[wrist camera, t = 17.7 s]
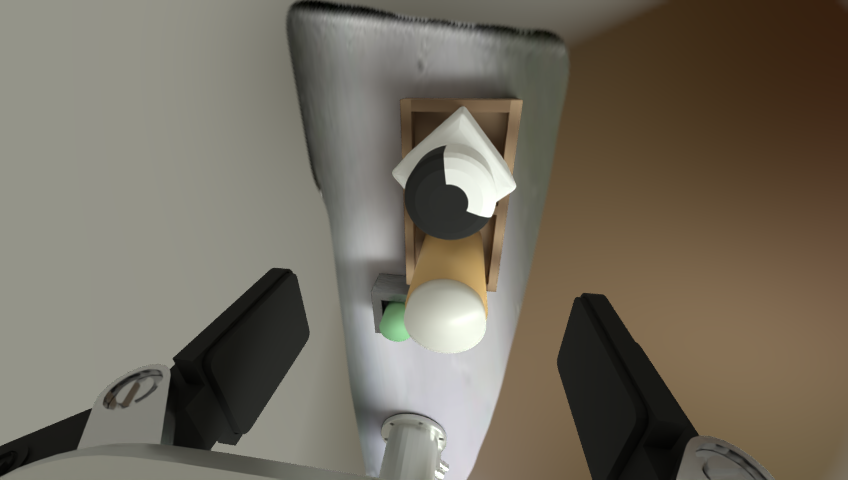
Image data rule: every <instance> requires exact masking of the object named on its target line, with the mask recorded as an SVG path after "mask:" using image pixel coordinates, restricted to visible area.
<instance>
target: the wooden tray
mask: <svg viewBox="0 0 848 480" xmlns="http://www.w3.org/2000/svg"><path fill="white" fill-rule="evenodd" d="M522 103H523V100H520V99H476V98H405V99H401V100H400V110H401V139H402V160H403V159H404V158H405V156H406V155H407V154H408V153H409V152H410V151H411V150H412V149H414V148H415V147H416V146H417V145H418V144H419V143H420V142H422V141H423V140H424V139H425V138H426V137H427V136H428V135H429V134H431V133H432V132H433V131H434V130H435V129H436V128H437V127H438V126H440V125H441V124H442V123H443V122H444V121H445V120H446V119H448V118H449V117H450V116H451V115H452V114H453V113H454V112H455V111H457V110H458V109H459V108H460V107H462V106H464V107H466V108H467V110H468V111H469V112H470V114H471V115H472V117H473V118H474V119H475V121H476V122H477V123H478V125H479V126H480V128H481V129H482V130H483V132H484V133H485V134H486V136H487V137H488V138H489V140H490V141H491V143H492V144H493V145H494V147H495V148H496V149H497V151H498V152H499V154H500V155H501V156H502V158H503V159H504V160H505V162H506V163H507V165H508V168H509V170H510V172H511V174H513V167H514V160H515V153H516V145H517V138H518V131H519V124H520V117H521V110H522ZM404 190H405V189H404V188H403V196H404ZM509 195H510V193H509V194H507V195H506V196H505V197H503V198H502V199H500V200H499V201H497V202H496V206H495V209H494V212H493V214H492V216H491V218H490V220H489V221H488V223H487V224H486V225H485V226H484V227H483V228H482V229H481V230H479V231H480V233H481V236H482V240H483V252H484V266H485V280H486V291H491V292H496V288H497V281H498V274H499V266H500V259H501V252H502V245H503V238H504V231H505V224H506V217H507V209H508V202H509ZM404 224H405V253H406V282H407V284H409V285H410V284H411V281H412V278H413V274H414V271H415V268H416V264H417V261H418V258H419V254H420V251H421V248H422V244H423V241H424V238H425V235H426V233H425V232H423V231H422V230H421V229H419V228H418V227H417V226H416V225H415V224H414V222H413V221H412V220H411V218H410V216H409V214H408V212H407V210H406V206H405V201H404Z"/></svg>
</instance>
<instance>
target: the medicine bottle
mask: <svg viewBox="0 0 848 480" xmlns="http://www.w3.org/2000/svg"><path fill="white" fill-rule="evenodd" d="M392 175H393V177H394V178H395V179H396V180H397V181H398V182H399V184H400V185H401V186H402V187H403V188H404V189H405V190H404V201H405V206H406V210H407V212H408V214H409V216H410V218H411V220H412V221H413V222H414V224H415V225H416V226H417V227H418V228H419V229H421V230H422V231H423V232H425V233H426V234H428V235H430V236H433V237H435V238H439V239H444V240H458V239H463V238H466V237H469V236H471V235H473V234H475V233H476V232H478V231H479V230H481V229H482V228H483V227H484V226H485V225H486V224H487V223H488V221H489V220H490V218H491V216H492V214H493V212H494V209H495V206H496V202H497V201H499V200H500V199H502V198H503V197H505V196H506V195H507V194H509V193H510V192H512V191H513V190H514V189H515V188H516V184H515V181H514V179H513V177H512V174H511V172H510V170H509V168H508V165H507V163H506V162H505V160H504V159H503V158H502V156H501V155H500V154H499V152H498V151H497V149H496V148H495V147H494V145H493V144H492V143H491V141H490V140H489V138H488V137H487V136H486V134H485V133H484V132H483V130H482V129H481V128H480V126H479V125H478V123H477V122H476V121H475V119H474V118H473V117H472V115H471V114H470V112H469V111H468V110H467V108H466V107H464V106H462V107H460V108H459V109H458V110H457V111H455V112H454V113H453V114H452V115H451V116H450V117H449V118H448V119H446V120H445V121H444V122H443V123H442V124H441V125H440V126H438V127H437V128H436V129H435V130H434V131H433V132H432V133H431V134H429V135H428V136H427V137H426V138H425V139H424V140H423V141H422V142H420V143H419V144H418V145H417V146H416V147H415V148H414V149H412V150H411V151H410V152H409V153H408V154H407V155H406V156H405V158H404V159H403V160H402V161H401V162H400V163H399V164H398V165H397V167H396V168H395V169H394V170H393V171H392Z"/></svg>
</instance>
